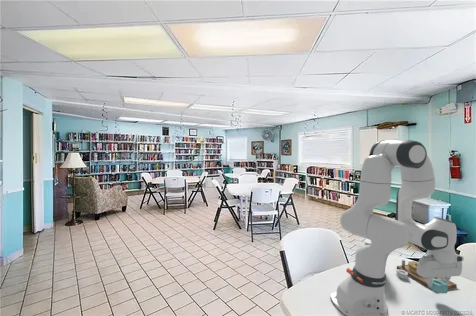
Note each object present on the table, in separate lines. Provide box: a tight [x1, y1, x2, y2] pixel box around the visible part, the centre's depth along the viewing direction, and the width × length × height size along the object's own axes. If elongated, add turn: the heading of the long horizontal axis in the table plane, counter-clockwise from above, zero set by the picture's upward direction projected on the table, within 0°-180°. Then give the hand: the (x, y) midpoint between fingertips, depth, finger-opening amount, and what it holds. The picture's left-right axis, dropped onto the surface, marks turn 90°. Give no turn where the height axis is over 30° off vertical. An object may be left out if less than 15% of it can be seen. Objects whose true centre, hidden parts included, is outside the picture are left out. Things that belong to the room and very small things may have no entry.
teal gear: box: [427, 278, 448, 295], centre depth 97 cm, size 6×6×3 cm
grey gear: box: [395, 269, 409, 280], centre depth 114 cm, size 4×4×2 cm
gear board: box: [396, 259, 458, 292], centre depth 114 cm, size 14×19×6 cm
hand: (437, 285), depth 97 cm, fingers closed on teal gear, 6 cm apart
